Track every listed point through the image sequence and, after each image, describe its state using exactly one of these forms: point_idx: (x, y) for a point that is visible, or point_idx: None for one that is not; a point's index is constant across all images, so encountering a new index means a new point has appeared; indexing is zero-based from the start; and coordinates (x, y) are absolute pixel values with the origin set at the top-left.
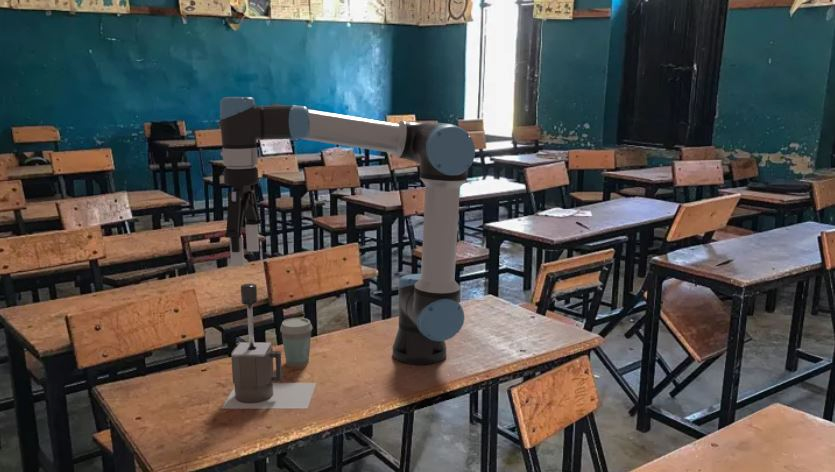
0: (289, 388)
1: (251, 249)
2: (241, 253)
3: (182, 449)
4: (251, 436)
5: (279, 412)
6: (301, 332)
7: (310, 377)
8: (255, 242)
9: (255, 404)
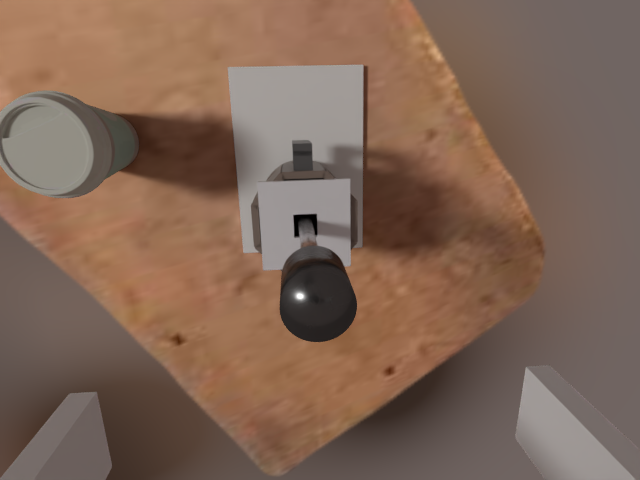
0: (264, 129)
1: (99, 450)
2: (622, 443)
3: (499, 263)
4: (465, 159)
5: (370, 127)
6: (96, 119)
7: (186, 91)
8: (54, 472)
9: None
